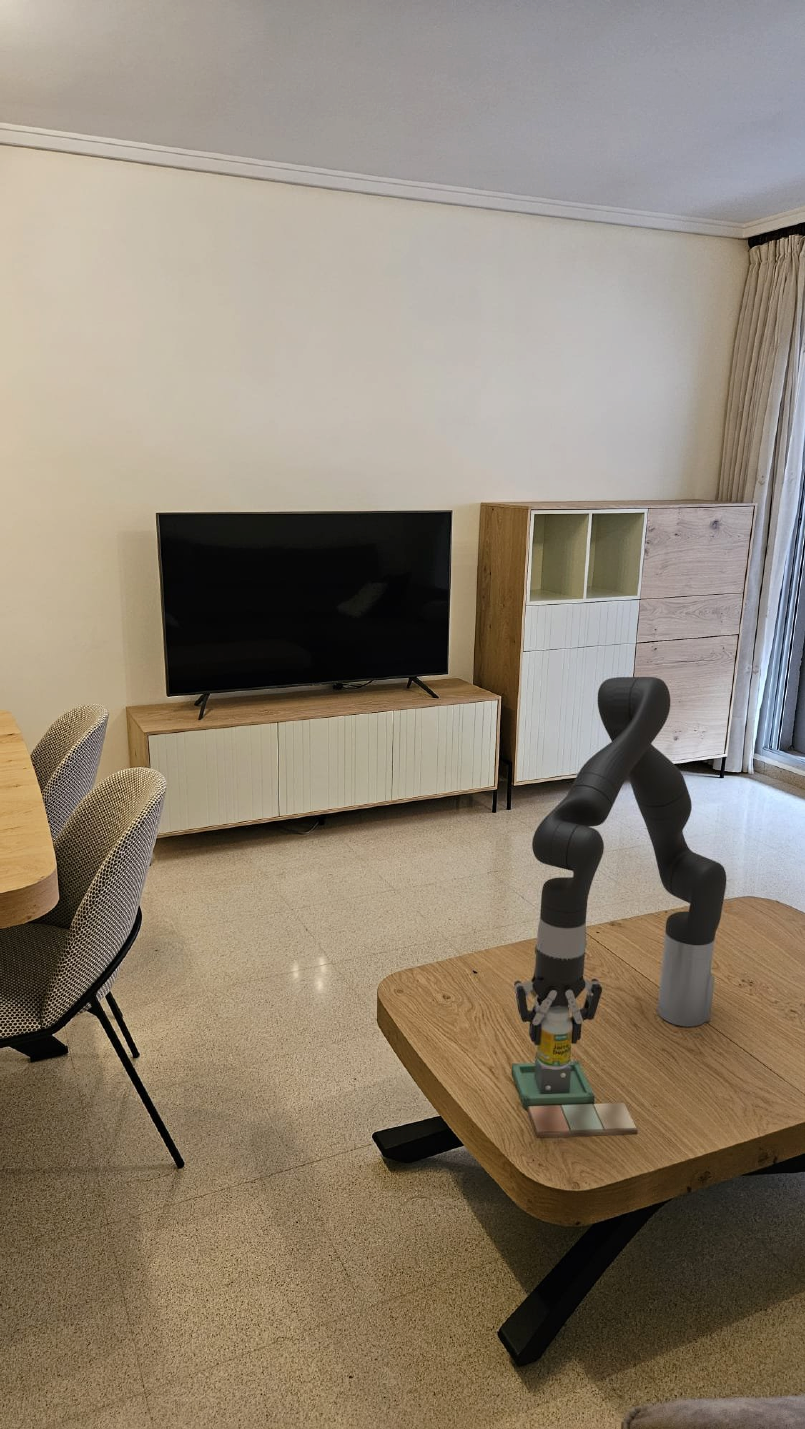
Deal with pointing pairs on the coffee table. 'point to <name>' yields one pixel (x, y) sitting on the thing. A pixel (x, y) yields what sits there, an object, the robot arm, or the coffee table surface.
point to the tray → (532, 1097)
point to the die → (552, 1079)
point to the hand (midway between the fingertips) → (554, 1041)
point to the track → (581, 1120)
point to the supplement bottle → (555, 1038)
